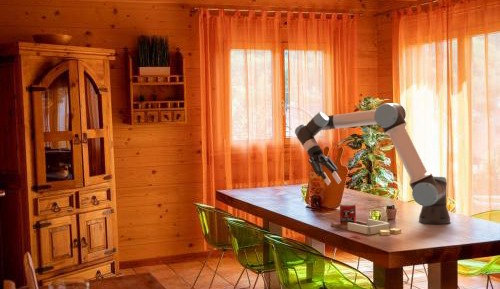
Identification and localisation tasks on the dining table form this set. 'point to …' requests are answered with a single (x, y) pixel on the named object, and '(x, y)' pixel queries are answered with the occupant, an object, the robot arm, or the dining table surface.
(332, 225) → the slot rails
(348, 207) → the canned food
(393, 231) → the chip
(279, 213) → the dining table surface
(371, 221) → the tray
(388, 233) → the chip
